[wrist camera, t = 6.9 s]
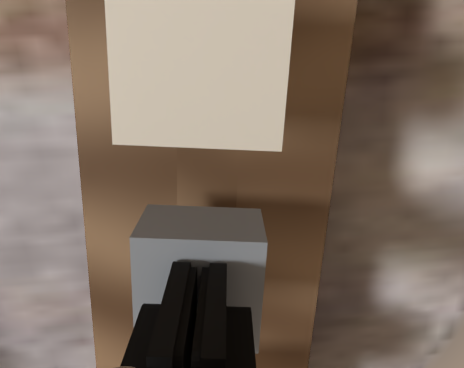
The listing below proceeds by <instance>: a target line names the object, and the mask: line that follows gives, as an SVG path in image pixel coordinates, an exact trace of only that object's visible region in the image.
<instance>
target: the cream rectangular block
mask: <svg viewBox="0 0 464 368" xmlns="http://www.w3.org/2000/svg"><path fill="white" fill-rule="evenodd" d="M104 1H105V19H106V37H107V55H108V73H109V92H110V110H111V128H112V145H134V146H158V147H181V148H205V149H229V150H252V151H276V152H282V143H283V132H284V121H285V109H286V98H287V87H288V76H289V64H290V53H291V42H292V31H293V19H294V8H295V0H104Z"/></svg>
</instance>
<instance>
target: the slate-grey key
mask: <svg viewBox="0 0 464 368" xmlns="http://www.w3.org/2000/svg"><path fill="white" fill-rule="evenodd" d="M267 245H268V242H267V237H266V232H265V227H264V223H263V218H262V213H261V209H254V208H229V207H203V206H177V205H152V204H147V206H146V208H145V210H144V212H143V214H142V215H141V217H140V219H139V221H138V223H137V225H136V227H135V228H134V230H133V232H132V234H131V236H130V261H131V283H132V306H133V328H134V326H135V323H136V320H137V317H138V314H139V311H140V309H141V306H142V304H144V303H145V304H161V302H162V298H163V295H164V291H165V287H166V284H167V280H168V277H169V273H170V269H171V266H172V263H173V261H175V262H191V267H197V306H198V298H199V291H200V283H201V275H202V267H209V264H210V263H227V298H226V306H233V307H251V312H252V323H253V335H254V346H255V354H258V353H259V341H260V329H261V317H262V305H263V293H264V281H265V269H266V257H267ZM196 314H197V311H196Z"/></svg>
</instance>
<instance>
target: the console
mask: <svg viewBox="0 0 464 368" xmlns="http://www.w3.org/2000/svg"><path fill="white" fill-rule="evenodd" d="M65 1H66V13H67V24H68V36H69V48H70V60H71V72H72V84H73V95H74V107H75V119H76V131H77V143H78V155H79V166H80V178H81V190H82V202H83V214H84V226H85V237H86V249H87V261H88V273H89V285H90V297H91V308H92V320H93V332H94V344H95V356H96V368H115V367H120V365H121V362H122V360H123V357H124V354H125V351H126V348H127V345H128V343H129V340H130V337H131V334H132V331H133V306H132V283H131V261H130V236H131V234H132V232H133V230H134V228H135V227H136V225H137V223H138V221H139V219H140V217H141V215H142V214H143V212H144V210H145V208H146V206H147V204H152V205H177V206H203V207H229V208H254V209H261V213H262V218H263V223H264V227H265V232H266V237H267V242H268V245H267V257H266V269H265V281H264V293H263V305H262V317H261V329H260V341H259V353H258V354H255V358H256V368H308V363H309V355H310V348H311V341H312V333H313V326H314V319H315V311H316V304H317V296H318V289H319V282H320V274H321V267H322V260H323V252H324V245H325V238H326V230H327V223H328V216H329V208H330V201H331V193H332V186H333V179H334V171H335V164H336V157H337V149H338V142H339V135H340V127H341V120H342V112H343V105H344V98H345V90H346V83H347V76H348V68H349V61H350V54H351V46H352V39H353V31H354V24H355V17H356V9H357V2H358V0H295V8H294V19H293V31H292V42H291V53H290V64H289V76H288V87H287V98H286V109H285V121H284V132H283V143H282V152H276V151H252V150H229V149H205V148H181V147H158V146H134V145H112V128H111V110H110V92H109V73H108V55H107V37H106V19H105V1H104V0H65Z"/></svg>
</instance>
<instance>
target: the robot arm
mask: <svg viewBox="0 0 464 368" xmlns="http://www.w3.org/2000/svg"><path fill="white" fill-rule="evenodd" d="M226 298H227V263H210V264H209V267H202V275H201V283H200V291H199V298H198V306H197V267H191V262H175V261H173V263H172V266H171V269H170V273H169V277H168V280H167V284H166V287H165V291H164V295H163V298H162V302H161V304H145V303H144V304H142V306H141V309H140V311H139V314H138V317H137V320H136V323H135V326H134V328H133V331H132V334H131V337H130V340H129V343H128V345H127V348H126V351H125V354H124V357H123V360H122V362H121V365H120V367H115V368H256V358H255V346H254V335H253V323H252V312H251V307H233V306H226ZM196 311H197V314H196Z"/></svg>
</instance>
